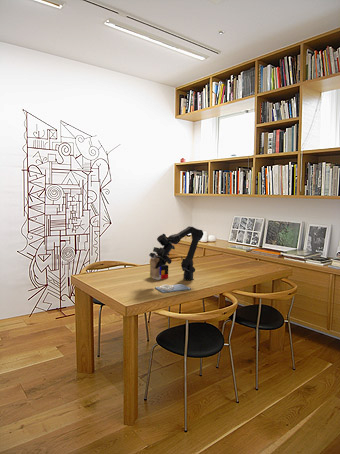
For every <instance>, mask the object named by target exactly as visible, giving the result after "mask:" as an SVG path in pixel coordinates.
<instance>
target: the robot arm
mask: <svg viewBox="0 0 340 454" xmlns="http://www.w3.org/2000/svg"><path fill="white" fill-rule="evenodd" d="M189 234H191V242H190V246H189V248H188V251H187V255H186V257H185V258H182V260H181V263H180V264H181V269H182V272H183V277H182V279H183V280H185V281H193V280H194V281H195V278H194V273H195V272H196V268H195V267H194V260H193V259H194V258H195V257H194V256H195V253H196V251H197V248H198V245H199V242H200V241H201V240H202V238H203V236H204V231H203V229H198V228H196V227H194V226H187V227H186V228H184V229H183V230H181V231H179V232H177V233H173V234H171V235H169V236H166V234H165V233H162V234H161V235H159V236H157V238H156V240H157V242H158V243H159V244H160V246H162V247H153V249H152V252H150V253H149V255H148V256H149V257H150V259H151V258H155V257H156V258H159V262H158V264H157V265H156V267H155V268H156V269H157V268H159V267H161V266H162V265H165V264H166V265H168V264H169V265H171V264H172V262H173V261H172V259H171V258H170V252H171V251H172V250H175V249H176V248H175V245H177V244H179V243H180V242H181V240H182V239H183V238H186V237H187V236H188V235H189Z"/></svg>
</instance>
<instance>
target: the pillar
mask: <svg viewBox="0 0 340 454" xmlns="http://www.w3.org/2000/svg"><path fill="white" fill-rule="evenodd" d="M149 262H150V264H149V278H151V277H153V278H152V279H154V278H157V277H160V267H159V268H157V269H156V268H155V267H156V265H157V264H158V262H159V258H156V257H155V258H151V257H150V261H149Z"/></svg>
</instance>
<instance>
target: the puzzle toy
mask: <svg viewBox="0 0 340 454" xmlns="http://www.w3.org/2000/svg"><path fill="white" fill-rule="evenodd" d="M150 278H152V279H154V280H157V281H159V280H163V279H168V278H169V265H168V264H165V265H162V266H161V267H160V277H157V278H153V277H150Z"/></svg>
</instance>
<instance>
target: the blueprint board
mask: <svg viewBox="0 0 340 454" xmlns="http://www.w3.org/2000/svg"><path fill="white" fill-rule="evenodd" d="M154 288H155V290H157V291H159V292H161V293H162V294H163V293H164V294H166V292H167V293H172V292H174V291H175V292H181V291H189V290H192V289H191V287H189V286H187V285H186V284H183V283H179V284H178V283H177V284H171V285H170V284H162V285H161V286H155V287H154ZM175 292H174V293H175Z"/></svg>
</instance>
